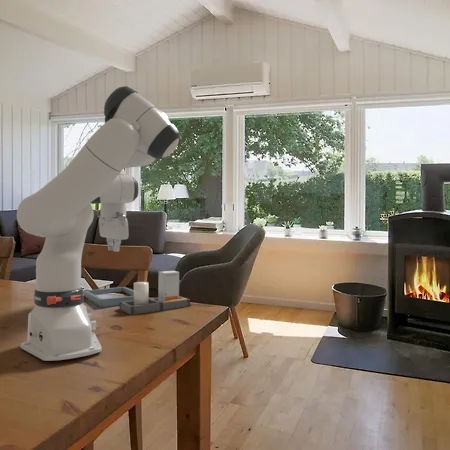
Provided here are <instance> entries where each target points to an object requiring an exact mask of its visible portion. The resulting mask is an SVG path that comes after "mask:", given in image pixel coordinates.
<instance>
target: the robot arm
mask: <svg viewBox="0 0 450 450" xmlns="http://www.w3.org/2000/svg"><path fill="white" fill-rule="evenodd" d="M103 114H104V123H103V124H102V125H101V126H100V127H99V128H98V129H97V130H96V131H95V132H94V133H93V134H92V135H91V136H90V137H89V139H88V140H87V141H86V142H85V143H84V144H83V146H82V148H81V149H80V150H79V151H78V153H77V154H76V155H75V156H74V157H73V159H72V160H71V162H69V163H68V165H67V166H66V167H65V168H63V170H61V172H60V173H58V175H56V176H54V178H52V179H51V180H50V181H49V182H47V183H46V184H45V185H44V186H43V187H42V188H40V189H39V190H38V191H36V192H34V193H32V194H31V195H29V196H27V197H25V198H23V199H22V200H21V202H20V203H19V204H18V207H17V210H16V220H17V223H18V225H19V226H20V228H21V230H23V231H24V232H26V234H30V235H32V236H36V237H41V238H45V241H44V244H43V247H42V250H41V251H40V253H38V256H37V258H36V262H35V280H36V281H35V284H36V285H35V288H36V289H35V290H34V292H33V293H34V294H33V299H34V300H33V301H34V302H33V303H34V304H35V305H34V307H33V308H32V310H31V311H30V312H29V313H28V315H27V318H28V319H27V338H26V341H23V342H21V343H20V349H21V350H24V351H26V352H27V353H29V354H31V355H33V356H34V357H36V358H38V359H40V360H41V361H47V362H48V361H49V362H50V361H54V362H55V361H62V360H71V359H77V358H81V357H82V358H83V357H86V356H90V355H94V354H97V353H100V352H102V351H103V350H102V348H103V347H102V345H101V343H100V341H99V339H98V337H97V334H96V333H95V332H92V331H93V330H94V331H95V330H97V326H98V325H97V321H96V320H91V319H92V313H89V312H88V310H87V307H88V306H86V305H85V304H84V302H85V299H84V298H85V297H84V293H83V291H84V288H83V287H82V257H83V250H84V246H85V241H86V237H87V233H88V230H89V228H90V226H91V225H92V223H93V221H94V218H95V217H94V215H95V213H94V208H93V206H92V205H94V204H95V205H97V204H100V209H99V210H97V218H98V228H99V235H100V237H101V238H106V242H107V250H108V251H113V252H120V250H121V249H120V247H121V244H122V241H123V240H128V239H129V236H130V235H129V222H128V218H127V204H129V203H133V202H135V200H136V199H137V198H138V197H139V190H140V189H139V188H140V187H139V182H138V181H137V180H136V178H135V177H133V176H131V175H128V174H127V173H126V171H125V169H129V168H130V169H131V168H139V167H145V166H149V165H150V164H152V163H153V162H154V161H155V160H162V159H163V160H164V159H165V158H166V157H168V156H170V155H171V154H173V153H174V151H175V150H176V148H177V146H178V144H179V142H180V139H181V136H180V135H181V134H180V131H179V130H178V128H177V127H176V125H175V124H174V123H171V121H170V118H169V117H168V115H167V114H166V113H165V112H164V111H163V110H162V109H159V108H157V107H156V105H154V104H153V103H151V102H150V101H149V100H148V99H146V98H145V97H143V96H142V95H141V94H139V93H138V91H137V90H135V89H133V88H131V87H129V86H126V85H125V86H120V87H117V88H116V89H115V90H113V91H112V92H111V93H110V95H109V96H108V98H106V100H105V102H104V106H103Z"/></svg>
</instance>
